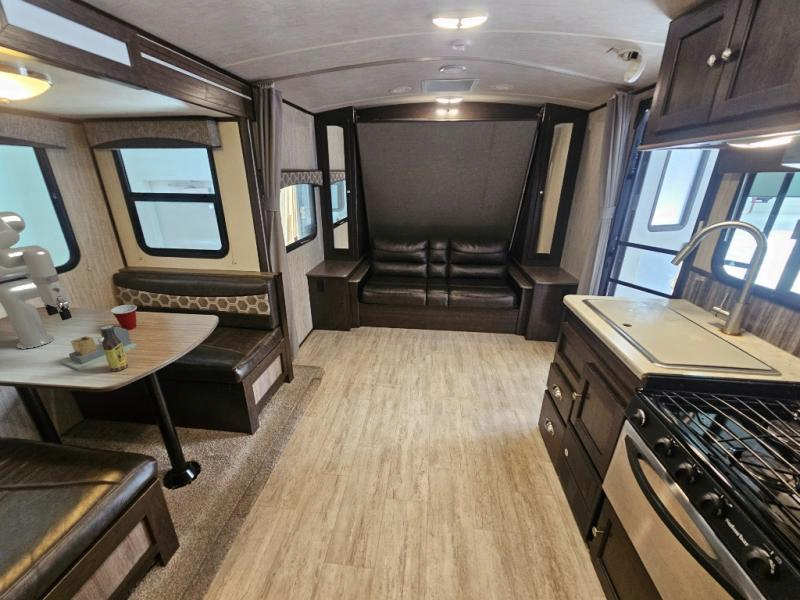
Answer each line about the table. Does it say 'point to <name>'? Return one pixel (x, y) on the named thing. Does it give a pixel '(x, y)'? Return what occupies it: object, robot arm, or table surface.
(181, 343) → the table surface
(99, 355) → the coupling rig
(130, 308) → the plastic cup
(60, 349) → the table surface
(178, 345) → the table surface
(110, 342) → the sauce bottle
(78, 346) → the hollow wooden square tube
